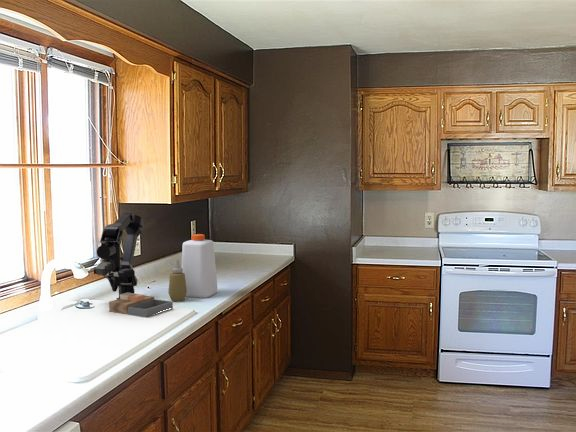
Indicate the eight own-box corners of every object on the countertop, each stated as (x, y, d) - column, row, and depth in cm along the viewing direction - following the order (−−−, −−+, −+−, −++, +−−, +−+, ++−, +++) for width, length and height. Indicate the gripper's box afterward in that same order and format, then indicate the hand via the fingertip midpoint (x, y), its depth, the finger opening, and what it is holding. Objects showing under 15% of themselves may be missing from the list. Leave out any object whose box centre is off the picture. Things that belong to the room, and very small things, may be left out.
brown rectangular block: (109, 311, 242) (109, 301, 242) (136, 303, 256) (136, 294, 256) (127, 314, 237) (127, 304, 237) (154, 305, 251) (154, 296, 251)
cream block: (120, 299, 246) (119, 294, 246) (127, 296, 250) (127, 292, 250) (128, 300, 244) (127, 295, 244) (135, 298, 248) (135, 293, 248)
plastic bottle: (207, 299, 264) (206, 237, 262) (176, 297, 268) (175, 236, 266) (220, 292, 278) (219, 233, 276) (191, 290, 283) (190, 232, 280)
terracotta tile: (128, 300, 244) (128, 295, 244) (136, 298, 248) (136, 293, 248) (136, 301, 242) (136, 296, 242) (144, 299, 246) (144, 294, 246)
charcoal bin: (127, 314, 237) (127, 307, 237) (154, 306, 251) (154, 299, 251) (146, 317, 232) (146, 309, 232) (172, 308, 246) (172, 301, 246)
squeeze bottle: (178, 303, 256) (177, 262, 254) (164, 301, 260) (163, 260, 259) (190, 299, 263) (190, 259, 261) (177, 297, 267) (176, 258, 265)
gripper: (83, 256, 247) (84, 292, 248) (115, 259, 238) (116, 297, 239) (103, 252, 257) (104, 287, 258) (135, 255, 248) (136, 292, 249)
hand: (114, 291), depth 251 cm, fingers closed
